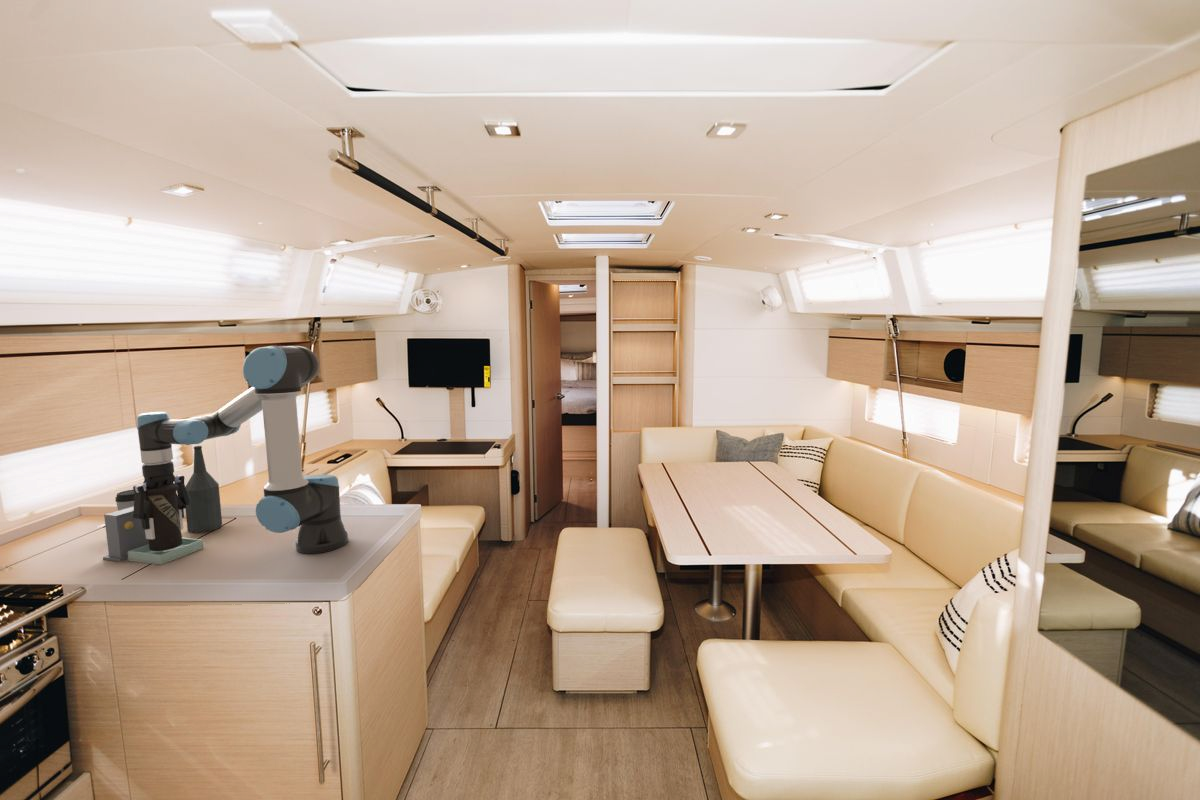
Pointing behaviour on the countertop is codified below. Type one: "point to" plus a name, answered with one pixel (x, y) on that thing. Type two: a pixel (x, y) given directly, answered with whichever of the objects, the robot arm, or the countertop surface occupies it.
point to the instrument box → (123, 534)
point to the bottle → (202, 498)
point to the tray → (165, 552)
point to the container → (164, 517)
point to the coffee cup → (125, 499)
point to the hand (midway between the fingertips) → (165, 533)
